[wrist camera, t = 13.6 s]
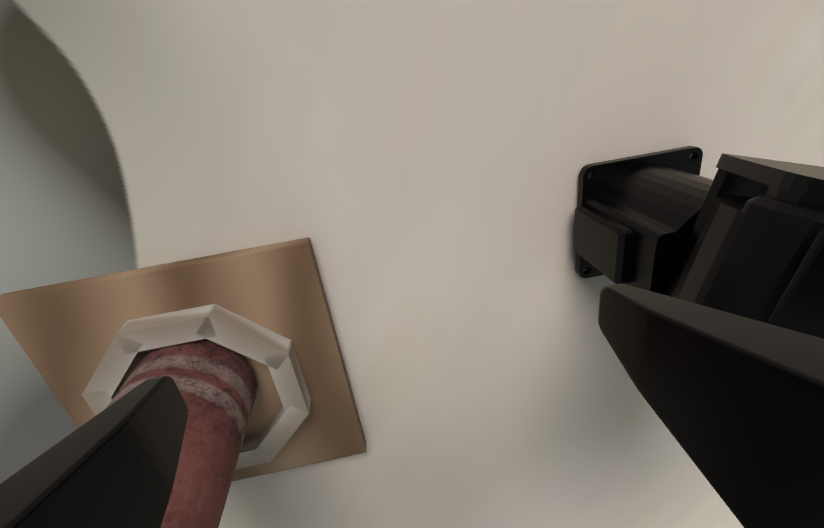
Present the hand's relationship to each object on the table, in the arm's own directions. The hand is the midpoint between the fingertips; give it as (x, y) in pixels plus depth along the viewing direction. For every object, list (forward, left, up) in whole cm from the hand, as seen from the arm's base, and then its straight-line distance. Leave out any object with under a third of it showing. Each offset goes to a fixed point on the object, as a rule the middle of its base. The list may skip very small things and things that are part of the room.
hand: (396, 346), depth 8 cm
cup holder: (+11, +9, -13) cm, 20 cm away
